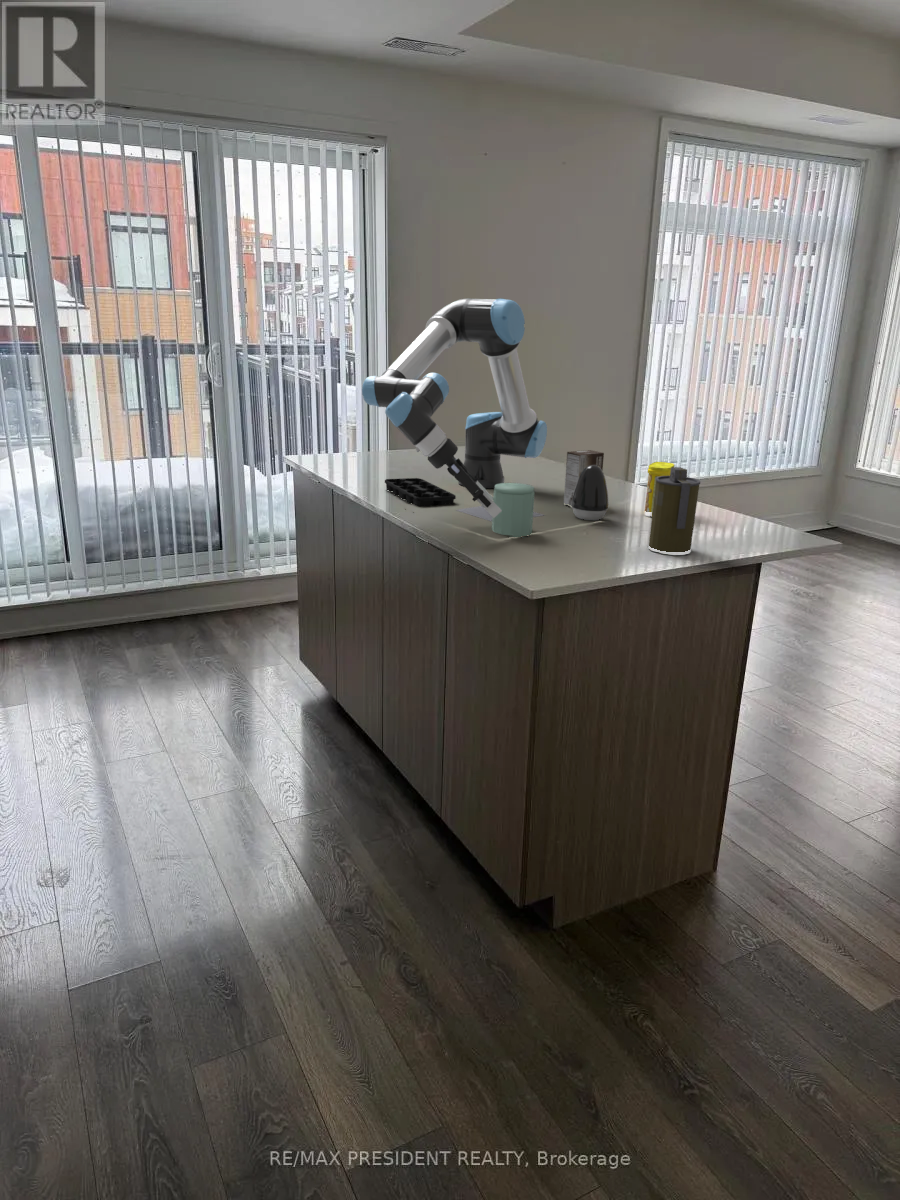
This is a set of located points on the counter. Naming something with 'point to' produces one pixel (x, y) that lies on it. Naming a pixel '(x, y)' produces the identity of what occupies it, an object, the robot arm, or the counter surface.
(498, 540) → the counter surface
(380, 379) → the robot arm
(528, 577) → the counter surface
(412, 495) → the egg carton
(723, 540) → the counter surface
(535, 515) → the mat
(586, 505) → the black egg-shaped device
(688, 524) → the canister
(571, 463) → the coffee box
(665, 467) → the canister
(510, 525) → the faceted lidded jar
